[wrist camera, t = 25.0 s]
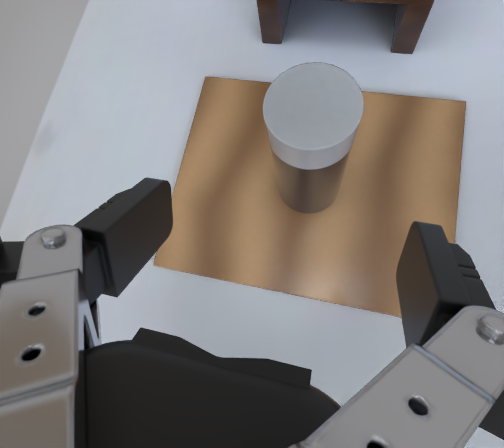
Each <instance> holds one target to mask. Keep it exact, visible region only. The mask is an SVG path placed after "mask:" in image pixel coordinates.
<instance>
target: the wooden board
mask: <svg viewBox="0 0 504 448" xmlns="http://www.w3.org/2000/svg"><path fill="white" fill-rule="evenodd" d="M271 84H272V83H268V82H258V81H247V80H237V79H226V78H216V77H205V80H204V84H203V87H202V91H201V94H200V98H199V102H198V105H197V109H196V112H195V116H194V120H193V123H192V127H191V130H190V134H189V138H188V141H187V145H186V148H185V152H184V156H183V159H182V163H181V166H180V170H179V174H178V177H177V181H176V184H175V188H174V192H173V195H172V211H173V227H172V231H171V234H170V236H169V237H168V238H167V240H166V241H165V242H164V243H163V244H162V246H161V247H160V248H159V249H158V250H157V253H156V256H155V260H154V264H153V265H154V266H158V267H163V268H167V269H172V270H177V271H182V272H187V273H191V274H196V275H201V276H206V277H211V278H215V279H220V280H225V281H230V282H235V283H239V284H244V285H249V286H254V287H259V288H263V289H268V290H273V291H278V292H283V293H287V294H292V295H297V296H302V297H307V298H311V299H316V300H321V301H326V302H331V303H335V304H340V305H345V306H350V307H355V308H359V309H364V310H369V311H374V312H379V313H383V314H388V315H393V316H398V317H402V316H401V310H400V303H399V297H398V291H397V284H396V271H397V266H398V262H399V259H400V256H401V253H402V250H403V247H404V244H405V241H406V238H407V235H408V232H409V229H410V226H411V224H412V223H413V222H414V221H418V222H424V223H431V224H437V225H441V226H442V228H443V230H444V232H445V235H446V237H447V240H448V242H449V243H453V244H454V243H455V231H456V219H457V207H458V195H459V183H460V170H461V158H462V146H463V134H464V122H465V110H466V101H456V100H446V99H435V98H425V97H414V96H404V95H393V94H383V93H372V92H362V91H361V92H362V95H363V101H364V108H363V114H362V118H361V121H360V125H359V128H358V131H357V135H356V138H355V141H354V143H353V145H352V148H351V152H350V155H349V159H348V162H347V166H346V169H345V172H344V176H343V179H342V183H341V186H340V190H339V193H338V196H337V198H336V199H335V201H334V202H333V203H332V204H331V205H330V206H329V207H328V208H326V209H324V210H322V211H320V212H316V213H301V212H298V211H295V210H293V209H291V208H290V207H289V206H287V205H286V204H285V202H284V201H283V200H282V198H281V196H280V193H279V190H278V184H277V179H276V174H275V169H274V163H273V158H272V153H271V148H270V144H269V141H268V137H267V132H266V127H265V122H264V116H263V102H264V98H265V94H266V92H267V90H268V88H269V87H270V85H271Z"/></svg>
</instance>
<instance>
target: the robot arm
mask: <svg viewBox="0 0 504 448" xmlns="http://www.w3.org/2000/svg"><path fill="white" fill-rule="evenodd" d="M172 227H173V211H172V198H171V187H170V184H169V182H168V181H165V180H159V179H153V178H144V179H143V180H142V181H140V182H139V183H138V184H136V185H135V186H134V187H133V188H131V189H128V190H126V191H123V192H120V193H118V194H116V195H114V196H113V197H112V198H110V199H109V200H108V201H107V203H104V204H102V205H101V206H100V207H99V209H95V210H94V211H93V212H91V213H90V214H89V215H87V216H86V217H85V218H83V219H82V220H81V221H79V222H78V223H76V224H75V225H74V226H71V225H54V226H49V227H45V228H42V229H40V230H37V231H35V232H34V233H32V234H31V235H29V236H28V237H27V238H26V240H25V241H19V242H2V240H1V237H0V448H463V447H464V446H465V445H466V443H467V442H468V440H469V439H470V437H471V436H472V434H473V433H474V432H475V430H476V429H477V427H480V428H482V429H484V430H486V431H488V432H490V433H492V434H494V435H495V436H497V437H499V438H501V439H503V440H504V313H502V312H500V311H497V310H496V308H495V306H494V304H493V302H492V300H491V298H490V296H489V294H488V292H487V290H486V288H485V286H484V284H483V282H482V280H480V275H479V273H478V271H477V270H475V268H476V267H475V265H474V263H473V261H472V259H471V257H470V255H469V254H468V253H466V252H465V251H464V250H463V249H462V248H461V247H460V246H459V245H458V244H453V243H449V242H448V240H447V237H446V235H445V232H444V230H443V228H442V226H441V225H437V224H431V223H424V222H418V221H414V222H413V223H412V224H411V226H410V229H409V232H408V235H407V238H406V241H405V244H404V247H403V250H402V253H401V256H400V259H399V262H398V266H397V271H396V284H397V291H398V297H399V303H400V310H401V316H402V323H403V329H404V335H405V342H406V349H405V350H404V351H403V352H402V353H401V354H400V355H399V356H398V357H396V358H395V359H394V360H393V361H392V362H391V363H390V364H389V365H388V366H386V367H385V368H384V369H383V370H382V371H381V372H380V373H379V374H378V375H377V376H375V377H374V378H373V379H372V380H371V381H370V382H369V383H368V384H367V385H365V386H364V387H363V388H362V389H361V390H360V391H359V392H358V393H357V394H356V395H354V396H353V397H352V398H351V399H350V400H349V401H348V402H347V403H346V404H344V405H343V406H342V407H341V406H340V405H339V404H338V403H337V402H335V401H334V400H333V399H332V398H330V397H329V396H328V395H326V394H325V393H323V392H322V391H320V390H319V389H317V388H315V387H313V386H312V385H310V380H311V371H312V370H310V369H306V368H302V367H298V366H294V365H290V364H286V363H282V362H278V361H274V360H270V359H259V358H221V357H217V356H214V355H212V354H210V353H209V352H207V351H205V350H203V349H201V348H199V347H197V346H195V345H193V344H192V343H190V342H188V341H186V340H184V339H182V338H180V337H177V336H173V335H169V334H165V333H161V332H157V331H153V330H149V329H145V328H140V329H139V330H138V332H137V333H136V335H135V336H134V338H133V339H132V340H124V341H115V342H110V343H105V344H102V341H101V328H100V314H99V304H98V300H97V298H98V297H99V296H100V295H101V294H105V295H109V296H114V297H118V296H119V295H120V294H121V293H122V291H123V290H124V289H125V288H126V287H127V285H128V284H129V283H130V282H131V281H132V280H133V278H134V277H135V276H136V275H137V274H138V273H139V271H140V270H141V269H142V268H143V267H144V265H145V264H146V263H147V262H148V261H149V260H150V258H151V257H152V256H153V255H154V254H155V253H156V251H157V250H158V249H159V248H160V247H161V246H162V244H163V243H164V242H165V241H166V240H167V238H168V237H169V236H170V234H171V231H172Z"/></svg>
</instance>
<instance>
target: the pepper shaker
mask: <svg viewBox="0 0 504 448" xmlns="http://www.w3.org/2000/svg"><path fill="white" fill-rule="evenodd" d="M363 108H364V101H363V95H362V92H361V90H360V87H359V86H358V84H357V82H356V81H355V80H354V78H353V77H352V76H351V75H350V74H348V73H347V72H346V71H344V70H343V69H341V68H339V67H336V66H334V65H331V64H327V63H317V62H313V63H305V64H300V65H297V66H294V67H292V68H290V69H288V70H286V71H285V72H283V73H282V74H280V75H279V76H278V77H277V78H276V79H275V80H274V81H273V82H272V84H271V85H270V87H269V88H268V90H267V92H266V94H265V98H264V102H263V116H264V122H265V127H266V132H267V137H268V141H269V144H270V148H271V153H272V158H273V163H274V169H275V174H276V179H277V184H278V190H279V193H280V196H281V198H282V200H283V201H284V202H285V204H286V205H287V206H289V207H290V208H291V209H293V210H295V211H298V212H301V213H316V212H320V211H322V210H324V209H326V208H328V207H329V206H330V205H331V204H332V203H333V202H334V201H335V199H336V198H337V196H338V193H339V190H340V186H341V183H342V179H343V176H344V172H345V169H346V166H347V162H348V159H349V155H350V152H351V148H352V145H353V143H354V141H355V138H356V135H357V131H358V128H359V125H360V121H361V118H362V114H363Z"/></svg>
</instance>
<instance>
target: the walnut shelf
mask: <svg viewBox="0 0 504 448" xmlns="http://www.w3.org/2000/svg"><path fill="white" fill-rule="evenodd" d="M331 1H351V2H371V3H391V4H398V7H397V14H396V21H395V28H394V35H393V42H392V49H391V52H394V53H408V54H412V53H413V51H414V49H415V46H416V44H417V41H418V39H419V37H420V34H421V32H422V29H423V27H424V25H425V22H426V20H427V17H428V15H429V13H430V10H431V8H432V5H433V3H434V0H331ZM290 2H291V0H257V7H258V13H259V20H260V27H261V34H262V41H263V43H275V44H281V42H282V38H283V33H284V29H285V25H286V20H287V16H288V11H289V7H290Z"/></svg>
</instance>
